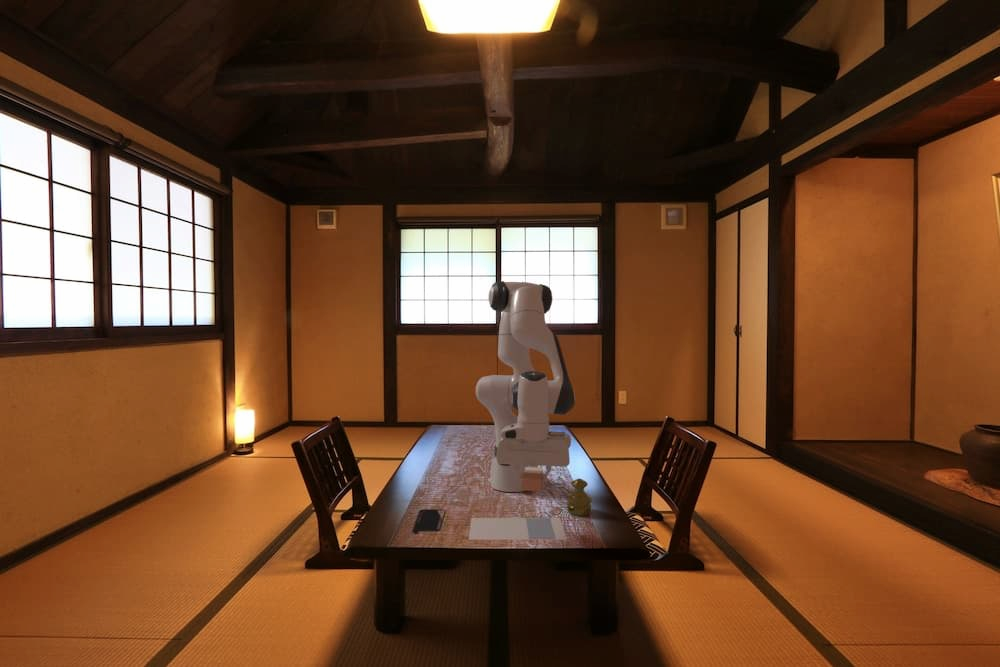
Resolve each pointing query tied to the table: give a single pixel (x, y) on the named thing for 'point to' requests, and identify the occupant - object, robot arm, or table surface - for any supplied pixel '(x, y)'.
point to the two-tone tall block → (532, 479)
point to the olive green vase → (579, 499)
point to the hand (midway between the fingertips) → (532, 480)
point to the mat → (516, 529)
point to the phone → (428, 520)
